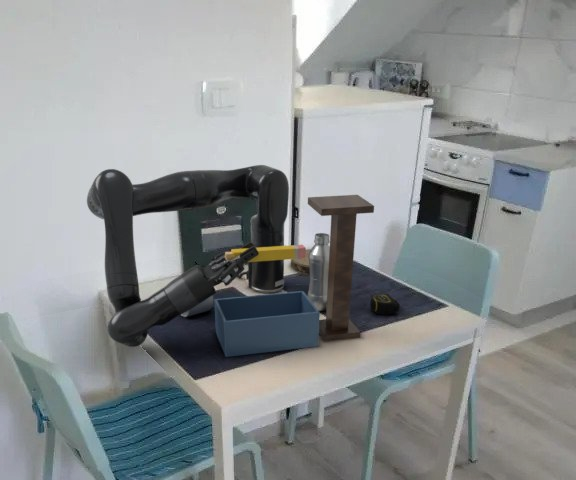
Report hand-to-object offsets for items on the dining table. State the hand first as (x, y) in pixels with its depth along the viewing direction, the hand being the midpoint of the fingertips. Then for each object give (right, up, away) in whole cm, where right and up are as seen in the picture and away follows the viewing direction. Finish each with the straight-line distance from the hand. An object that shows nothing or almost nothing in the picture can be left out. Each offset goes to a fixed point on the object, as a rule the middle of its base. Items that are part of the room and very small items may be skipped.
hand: (254, 247), depth 136 cm
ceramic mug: (-18, -11, +26) cm, 33 cm away
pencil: (+2, -2, +2) cm, 4 cm away
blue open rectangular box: (+2, -19, +12) cm, 23 cm away
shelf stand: (+18, -17, +16) cm, 30 cm away
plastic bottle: (+16, -10, +29) cm, 34 cm away
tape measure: (+33, -11, +28) cm, 45 cm away
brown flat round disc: (+16, +6, +56) cm, 59 cm away
